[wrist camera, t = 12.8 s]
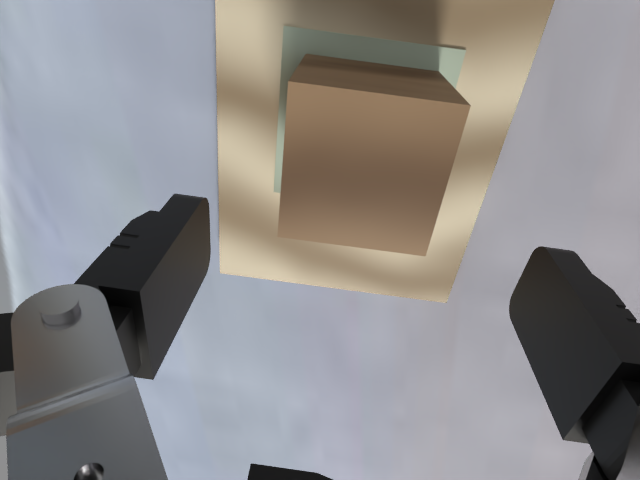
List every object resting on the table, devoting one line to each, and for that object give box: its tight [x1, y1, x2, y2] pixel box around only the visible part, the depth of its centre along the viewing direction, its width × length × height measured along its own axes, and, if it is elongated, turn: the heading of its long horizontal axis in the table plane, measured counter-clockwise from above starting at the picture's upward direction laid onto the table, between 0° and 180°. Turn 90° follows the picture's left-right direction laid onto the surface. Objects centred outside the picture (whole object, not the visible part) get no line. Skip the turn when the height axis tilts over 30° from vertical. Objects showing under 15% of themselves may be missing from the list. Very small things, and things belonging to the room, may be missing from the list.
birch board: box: [215, 0, 555, 303], centre depth 21 cm, size 20×14×2 cm
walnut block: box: [277, 54, 471, 256], centre depth 18 cm, size 6×6×6 cm
